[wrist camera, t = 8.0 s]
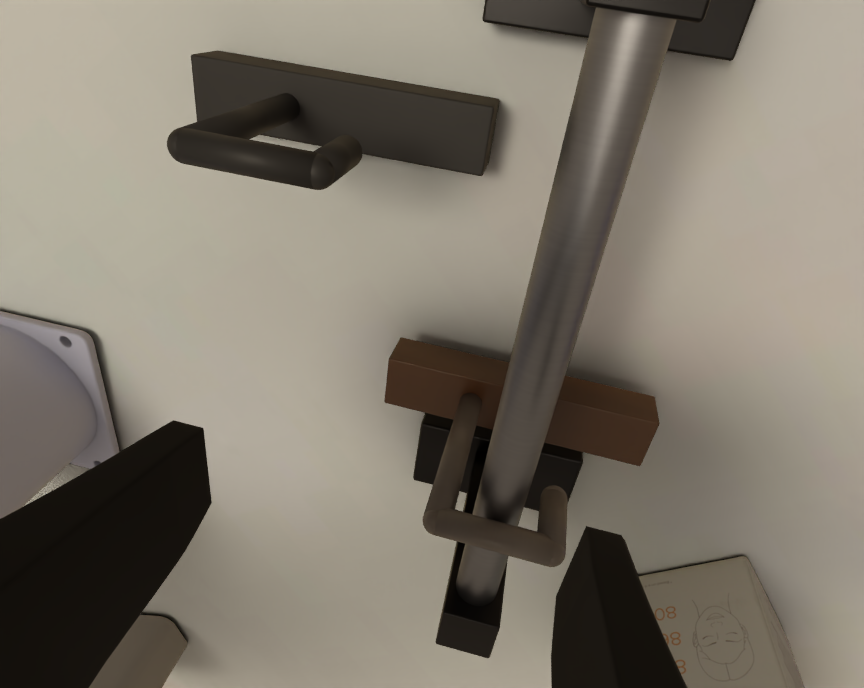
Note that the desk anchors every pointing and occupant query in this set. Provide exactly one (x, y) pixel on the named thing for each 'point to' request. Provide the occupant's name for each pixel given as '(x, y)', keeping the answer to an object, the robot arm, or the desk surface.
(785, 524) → the desk surface
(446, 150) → the black hanger
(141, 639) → the power adapter
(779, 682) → the small box
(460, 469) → the walnut hanger
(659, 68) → the rail stand
